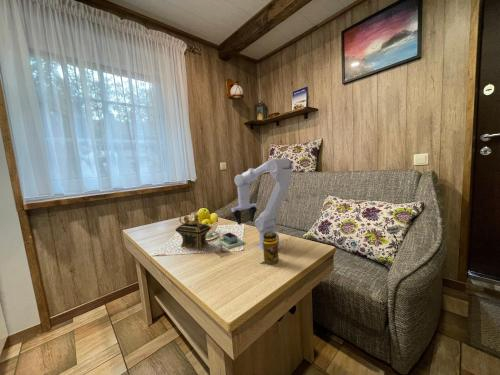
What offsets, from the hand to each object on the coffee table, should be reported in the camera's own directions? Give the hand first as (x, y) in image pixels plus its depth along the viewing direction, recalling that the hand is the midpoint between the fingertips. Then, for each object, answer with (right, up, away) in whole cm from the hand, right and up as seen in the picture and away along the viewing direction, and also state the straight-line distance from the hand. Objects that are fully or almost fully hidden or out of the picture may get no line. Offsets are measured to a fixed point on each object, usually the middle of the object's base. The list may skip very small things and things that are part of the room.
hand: (245, 222), depth 113 cm
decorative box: (-28, -12, 0) cm, 30 cm away
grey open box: (-8, -10, -1) cm, 13 cm away
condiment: (+11, -13, -23) cm, 28 cm away
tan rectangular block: (-10, -12, -13) cm, 21 cm away
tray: (-8, -11, -1) cm, 13 cm away
